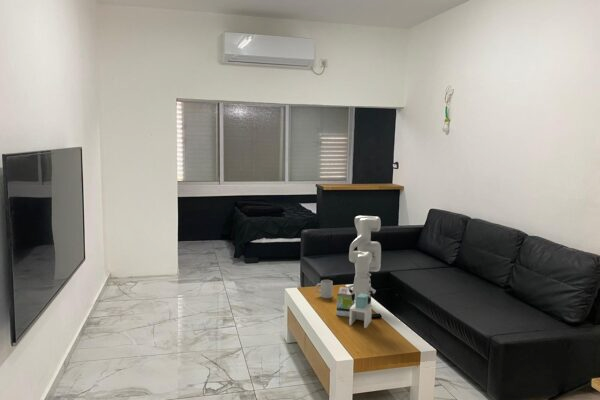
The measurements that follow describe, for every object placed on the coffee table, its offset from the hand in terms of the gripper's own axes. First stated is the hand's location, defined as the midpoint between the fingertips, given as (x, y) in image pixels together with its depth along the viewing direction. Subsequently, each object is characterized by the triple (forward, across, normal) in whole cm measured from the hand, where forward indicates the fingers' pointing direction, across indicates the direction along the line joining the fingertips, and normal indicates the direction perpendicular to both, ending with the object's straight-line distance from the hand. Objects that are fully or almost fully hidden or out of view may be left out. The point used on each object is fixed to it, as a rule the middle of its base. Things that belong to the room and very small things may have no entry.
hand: (361, 301), depth 280 cm
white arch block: (+14, 0, 0) cm, 14 cm away
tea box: (+14, +14, -13) cm, 24 cm away
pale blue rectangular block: (+3, 0, -3) cm, 4 cm away
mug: (+14, +37, -35) cm, 53 cm away
